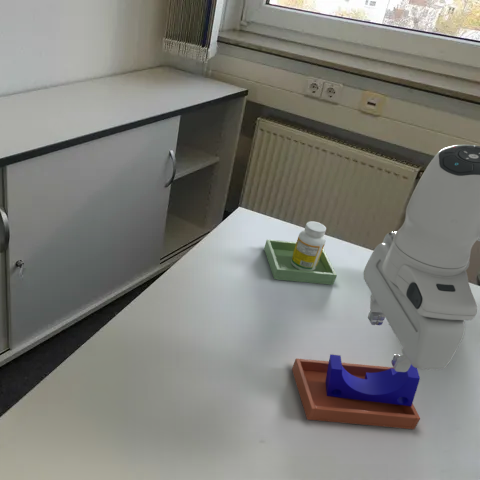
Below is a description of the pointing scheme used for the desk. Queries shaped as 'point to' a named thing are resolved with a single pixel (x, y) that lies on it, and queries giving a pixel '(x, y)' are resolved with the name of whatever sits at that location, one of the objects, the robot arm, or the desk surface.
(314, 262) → the supplement bottle
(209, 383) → the desk surface
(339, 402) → the clay tray
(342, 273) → the desk surface
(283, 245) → the green tray
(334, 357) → the cable clip
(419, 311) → the robot arm
